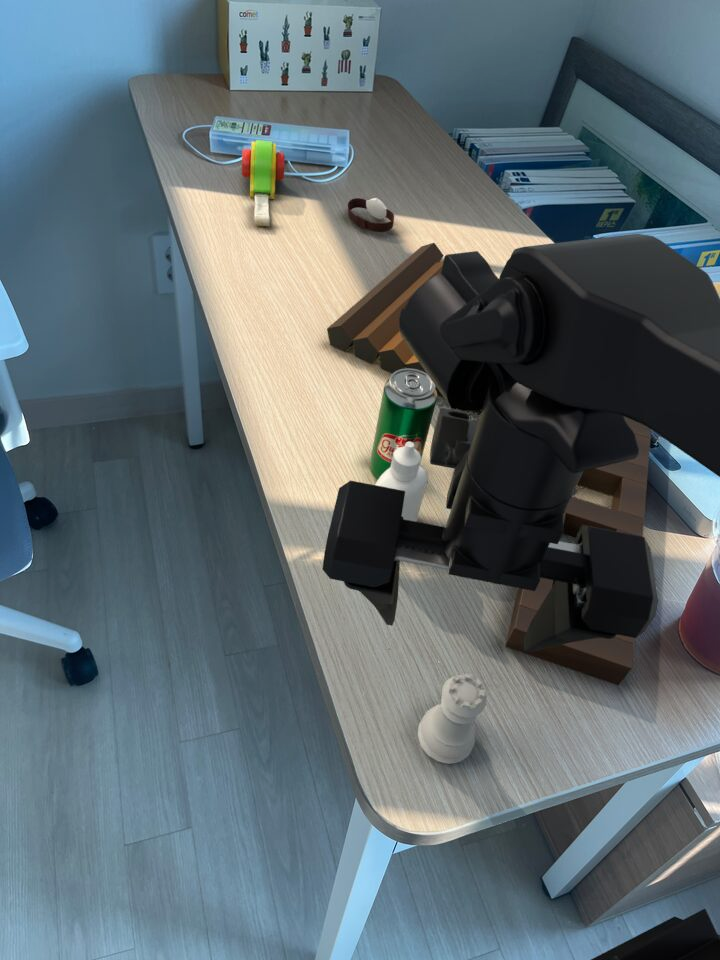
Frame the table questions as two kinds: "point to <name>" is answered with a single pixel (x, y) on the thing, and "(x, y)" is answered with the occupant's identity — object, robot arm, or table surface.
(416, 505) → the eye dropper bottle
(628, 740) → the table surface
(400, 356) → the pan flute
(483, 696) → the rook chess piece
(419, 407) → the soda can
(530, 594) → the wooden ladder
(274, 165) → the toy measuring tape
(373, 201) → the watch
